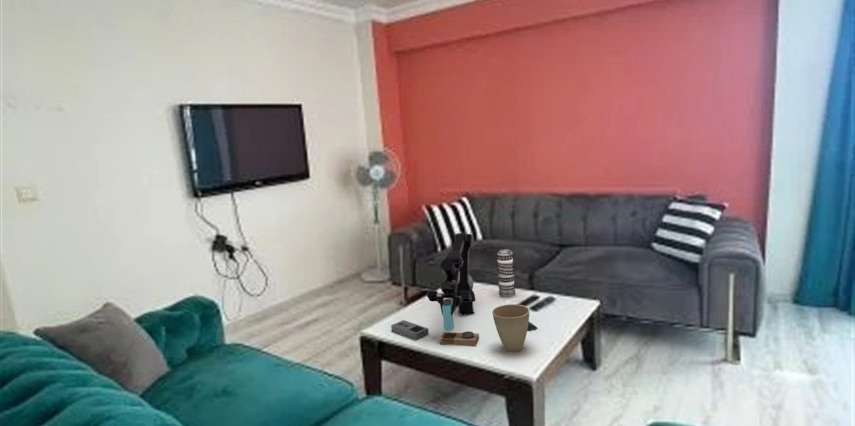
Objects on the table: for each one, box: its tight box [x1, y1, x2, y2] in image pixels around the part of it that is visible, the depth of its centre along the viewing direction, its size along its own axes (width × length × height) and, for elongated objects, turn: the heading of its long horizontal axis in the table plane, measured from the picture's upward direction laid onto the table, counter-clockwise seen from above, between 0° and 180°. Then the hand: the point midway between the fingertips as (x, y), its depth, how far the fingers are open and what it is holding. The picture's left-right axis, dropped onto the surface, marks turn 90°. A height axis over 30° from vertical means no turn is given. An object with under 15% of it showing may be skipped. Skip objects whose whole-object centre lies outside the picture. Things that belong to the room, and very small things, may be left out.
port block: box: [390, 319, 430, 341], centre depth 231 cm, size 8×17×3 cm, turn 43°
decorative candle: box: [496, 248, 516, 300], centre depth 265 cm, size 9×9×25 cm
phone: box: [527, 321, 538, 332], centre depth 229 cm, size 8×1×15 cm
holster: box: [439, 331, 480, 347], centre depth 217 cm, size 7×16×4 cm, turn 73°
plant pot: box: [491, 304, 530, 352], centre depth 206 cm, size 15×15×16 cm
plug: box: [441, 298, 455, 332], centre depth 217 cm, size 4×4×13 cm
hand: (447, 314), depth 216 cm, fingers closed on plug, 3 cm apart
